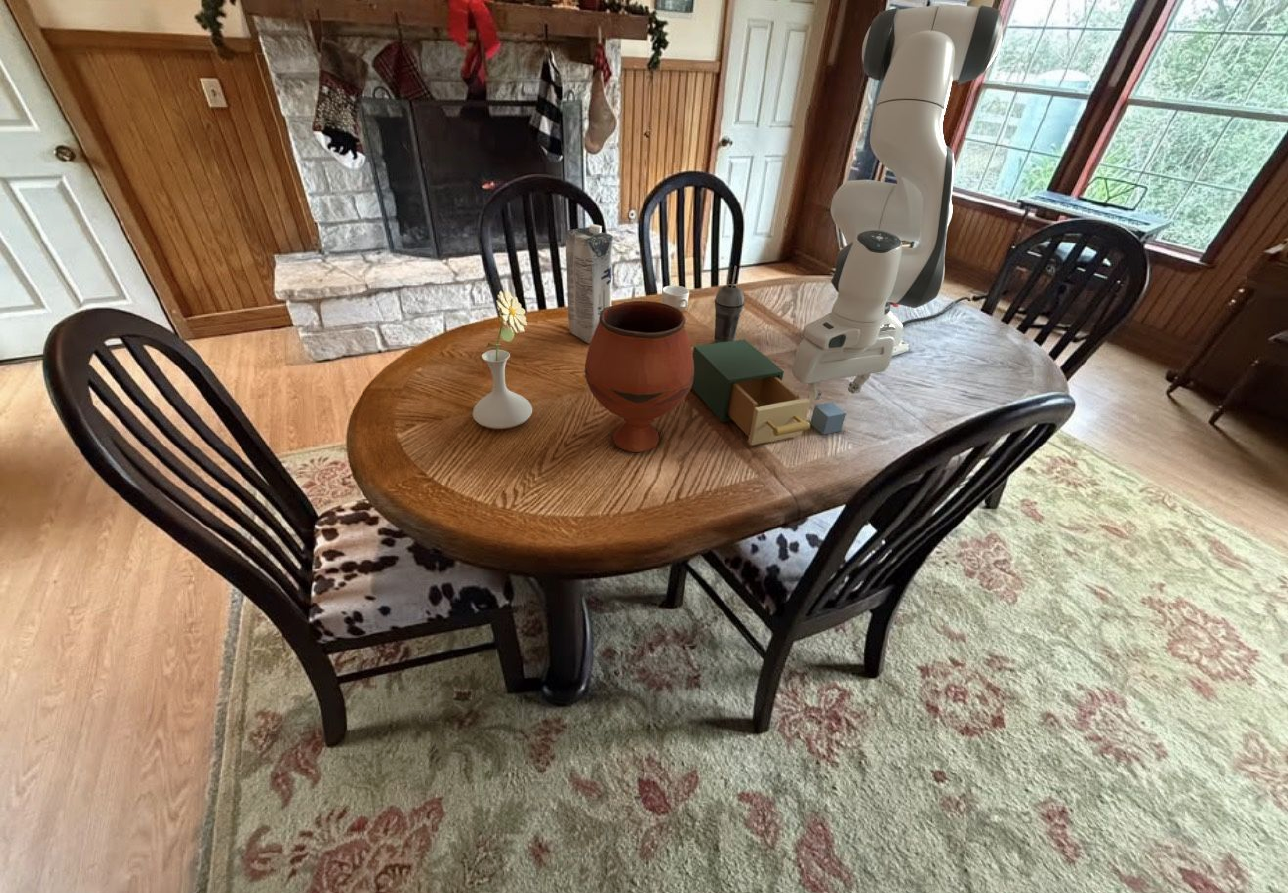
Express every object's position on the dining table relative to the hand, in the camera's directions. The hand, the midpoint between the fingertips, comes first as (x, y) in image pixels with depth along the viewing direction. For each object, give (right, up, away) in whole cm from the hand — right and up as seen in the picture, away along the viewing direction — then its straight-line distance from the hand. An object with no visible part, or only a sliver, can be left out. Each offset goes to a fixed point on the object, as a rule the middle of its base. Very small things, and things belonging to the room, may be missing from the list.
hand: (833, 395), depth 106 cm
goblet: (-38, -9, -1) cm, 39 cm away
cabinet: (-18, +1, +12) cm, 22 cm away
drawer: (-13, -6, +2) cm, 15 cm away
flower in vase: (-64, -4, +3) cm, 64 cm away
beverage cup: (-17, +16, +34) cm, 41 cm away
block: (0, -6, +5) cm, 8 cm away
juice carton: (-51, +19, +35) cm, 65 cm away
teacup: (-28, +29, +52) cm, 66 cm away
